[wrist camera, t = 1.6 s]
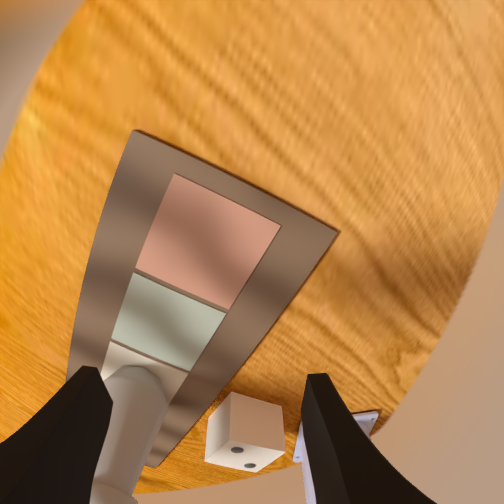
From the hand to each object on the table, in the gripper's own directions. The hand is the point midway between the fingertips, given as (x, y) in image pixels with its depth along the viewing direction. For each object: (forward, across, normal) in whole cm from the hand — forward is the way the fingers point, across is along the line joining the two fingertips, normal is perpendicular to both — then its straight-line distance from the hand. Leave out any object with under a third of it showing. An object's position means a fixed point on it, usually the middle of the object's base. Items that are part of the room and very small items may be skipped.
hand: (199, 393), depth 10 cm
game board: (+10, +8, +12) cm, 17 cm away
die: (+10, -1, +16) cm, 20 cm away
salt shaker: (+10, +8, +12) cm, 17 cm away
